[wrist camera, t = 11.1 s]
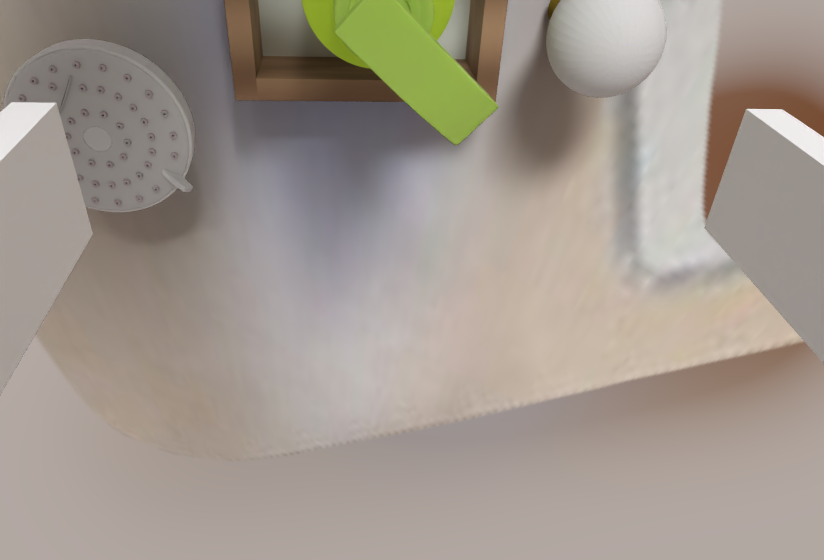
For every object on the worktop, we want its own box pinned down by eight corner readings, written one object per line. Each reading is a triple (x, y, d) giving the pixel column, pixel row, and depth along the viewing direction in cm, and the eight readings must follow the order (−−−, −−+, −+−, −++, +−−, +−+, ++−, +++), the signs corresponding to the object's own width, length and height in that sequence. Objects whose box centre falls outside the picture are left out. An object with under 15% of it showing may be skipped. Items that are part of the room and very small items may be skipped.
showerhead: (155, 253, 38) (-30, 167, 34) (179, 194, 44) (23, 115, 40) (230, 125, 34) (30, 10, 30) (245, 79, 40) (80, -23, 36)
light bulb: (510, -34, 38) (558, 8, 30) (612, -62, 37) (688, -27, 29) (523, 65, 41) (569, 128, 33) (616, 41, 41) (686, 98, 33)
